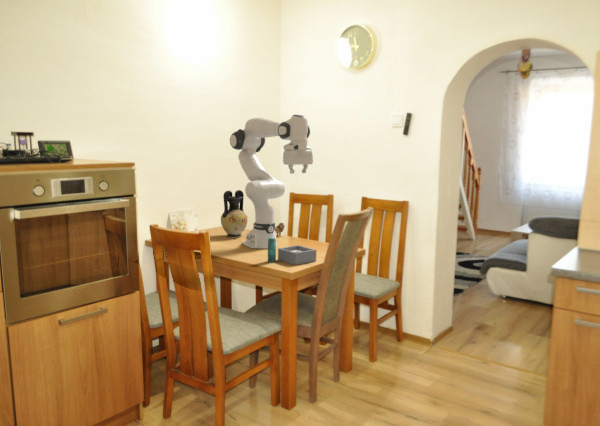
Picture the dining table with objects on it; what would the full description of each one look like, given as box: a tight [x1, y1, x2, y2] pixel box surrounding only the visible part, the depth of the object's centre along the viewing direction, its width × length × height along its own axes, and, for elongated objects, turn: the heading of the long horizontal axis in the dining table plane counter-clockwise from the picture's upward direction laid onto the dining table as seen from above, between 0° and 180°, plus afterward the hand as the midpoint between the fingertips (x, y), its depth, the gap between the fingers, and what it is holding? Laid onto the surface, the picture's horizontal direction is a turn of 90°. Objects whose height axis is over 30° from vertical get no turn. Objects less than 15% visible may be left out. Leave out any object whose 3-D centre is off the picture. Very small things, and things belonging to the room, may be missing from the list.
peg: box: [267, 237, 277, 263], centre depth 238 cm, size 4×4×12 cm
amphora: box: [220, 189, 249, 239], centre depth 299 cm, size 18×17×30 cm
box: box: [277, 244, 317, 266], centre depth 242 cm, size 14×14×6 cm
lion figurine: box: [274, 222, 285, 238], centre depth 303 cm, size 15×5×9 cm, turn 126°
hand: (298, 173), depth 244 cm, fingers open, 8 cm apart
